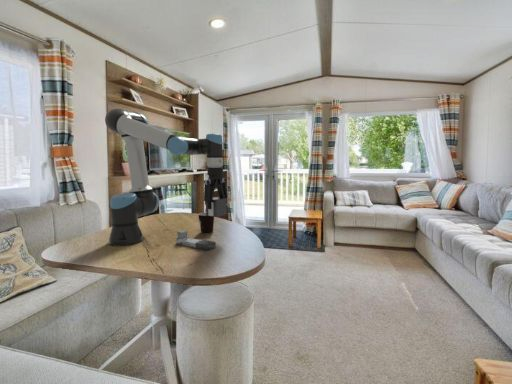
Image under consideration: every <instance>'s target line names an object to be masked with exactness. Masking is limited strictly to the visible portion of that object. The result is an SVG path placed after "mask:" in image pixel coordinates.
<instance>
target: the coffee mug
mask: <svg viewBox="0 0 512 384" xmlns="http://www.w3.org/2000/svg"><path fill="white" fill-rule="evenodd" d="M197 216H198V221H199V227H200V232H201V234H211V233H214V224H215V216H208V215H206V212H199V213H198V215H197Z"/></svg>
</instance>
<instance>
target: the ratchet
mask: <svg viewBox="0 0 512 384" xmlns="http://www.w3.org/2000/svg"><path fill="white" fill-rule="evenodd" d="M176 232H177V237H176V238H175V243H176V245H180V246H181V245H182V246H187V247H190V248H195V249H198V250H202V251H206V252H207V251H209V250H212V249H214V248H217V247H216V245H217V244H216V241H213V240H208V239H202V240H201V239H197V238H196V239H195V238H193V237H191V238H190V237H189V236H188V230H183V229H182V230H180V231H179V230H178V231H176Z"/></svg>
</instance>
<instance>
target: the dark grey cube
mask: <svg viewBox="0 0 512 384" xmlns="http://www.w3.org/2000/svg"><path fill="white" fill-rule="evenodd" d="M212 202H213V206H214V218H215V217H216V218H218V217H222V216H225V215H227V213H228V212H227V210H228V209H227V199H226V198H220V197H216V196H215V197H214V196H213V199H212ZM205 213H206V215H208V206H207V202H206V201H205ZM208 216H209V215H208Z"/></svg>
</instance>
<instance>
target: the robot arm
mask: <svg viewBox="0 0 512 384" xmlns="http://www.w3.org/2000/svg"><path fill="white" fill-rule="evenodd" d="M104 122H105V126H106V127H107V128H108V129H109V130H110V131H112V132H113V133H116V134H119V135H120V136H121V140H123V142H124V143H125V148H126V156H127V162H128V170H129V175H130V176H129V177H130V183H131V188H130V189H129V192H124V193H118V194H115V195H113V196H111V197H110V199H109V201H110V202H109V207H110V217H111V230H110V234H109V238H108V242H109V243H110V244H112V245H111V246H114V245H120V246H119V247H122V245H123V246H130V245H131V246H132V245H134V244H138V243H140V242H142V241H144V237H143V235H144V234H143V233H142V229H141V228H140V226H139V218H140V217H142V216H146V215H147V216H148V215H150V214H152V213H154V212H156V211H157V209H158V207H159V206H160V205H159V203H160V200H159V196H158V195H157V194H156V193H155V192H154V190H153V187H152V186H150V180H149V174H148V167H147V162H146V161H147V158H146V153H145V152H146V151H145V147H144V142H146V143H149V144H152V145H154V146H158V147H160V148H162V149H166V150H168V151H169V152H170V153H171V154H172V155H176V156H183V155H184V156H185V155H188V156H193V155H194V156H195V155H196V156H197V155H198V156H200V155H206V166H207V168H206V169H207V172H206V173H207V176H208V179H204V180H203V184H204V185H203V186H204V190H203V191H204V192H203V201H204V202H205V203H206V202H207V206H208V215H209V216H214V206H213V202H212V199H213V198H214V194H215V191H216V190H215V189H217V193H218V195H219V198H226V200H227V198H228V197H229V195H228V186H227V178H224V177H223V175H224V167H223V166H224V157H223V156H224V155H223V153H224V152H223V147H224V146H223V145H224V142H223V136H222V134H220V133H207V134H206V135H205V138H192V137H191V138H189V137H184V136H180V135H177V134H174V133H172V132H169V131H166V130H164V129H161V128H158V127H157V126H156V127H155V126H152V125H150V124H149V122H148V120H147V118H146V117H145V115H144V114H142V113H140V112H137V111H131V110H126V109H121V108H113V109H111V110H109V111H107V113H106V115H105V116H104ZM214 217H215V216H214ZM109 243H108V244H109ZM110 244H109V245H110Z"/></svg>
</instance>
